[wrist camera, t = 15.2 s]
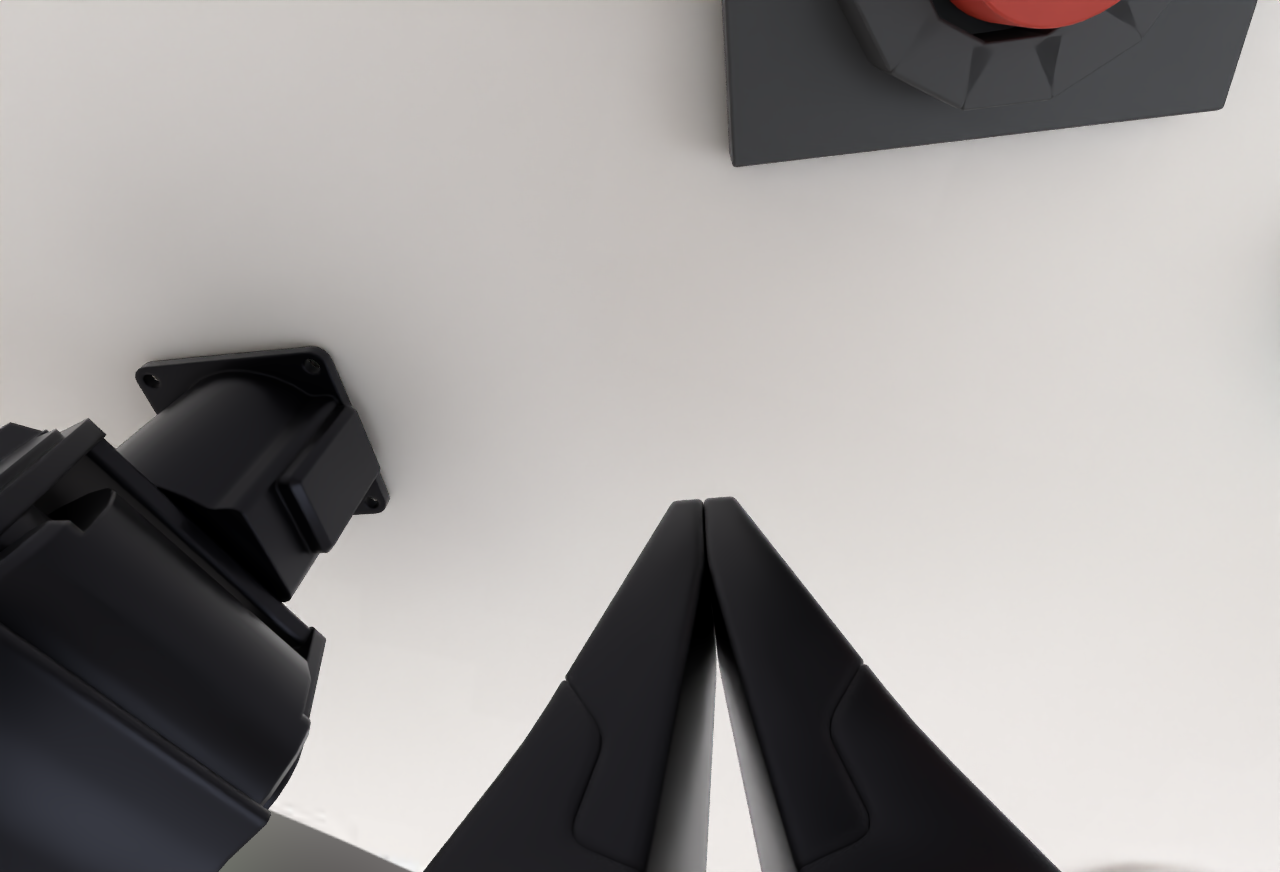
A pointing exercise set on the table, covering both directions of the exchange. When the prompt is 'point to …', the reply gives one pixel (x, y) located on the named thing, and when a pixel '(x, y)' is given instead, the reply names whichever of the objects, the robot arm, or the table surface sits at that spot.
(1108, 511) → the table surface
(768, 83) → the control block
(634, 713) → the robot arm
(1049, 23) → the red button
